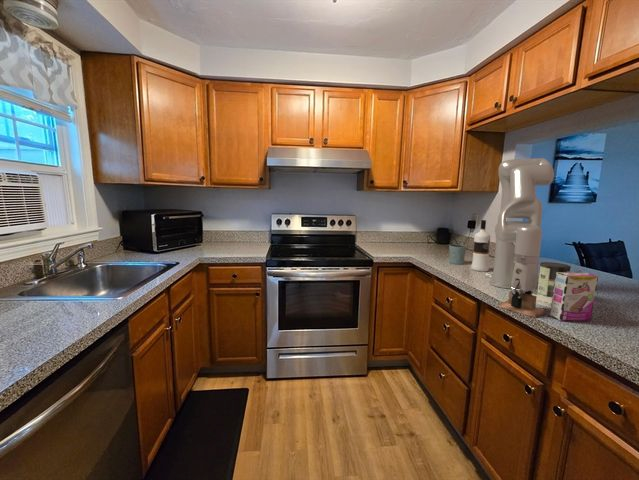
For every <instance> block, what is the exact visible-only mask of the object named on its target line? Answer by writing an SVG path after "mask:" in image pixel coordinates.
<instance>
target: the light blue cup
mask: <svg viewBox="0 0 639 480" xmlns="http://www.w3.org/2000/svg"><path fill="white" fill-rule="evenodd" d="M448 246H449V247H448V248H449V250H448V251H449V259H448V260H449V261H448V262H449V264H450V265H456V266H457V265H458V266H463V265H464V264H465V255H466V252H467V251H466V250H467V245H464V244H456V243H453V244H449V245H448Z"/></svg>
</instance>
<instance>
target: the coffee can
mask: <svg viewBox="0 0 639 480" xmlns="http://www.w3.org/2000/svg"><path fill="white" fill-rule="evenodd" d="M571 268H572V266H571V265H569V264H564V263H561V262H560V263H559V262H552V261H551V262H547V261H544V262H542V261H541V262H539V270H538V281H537V288H536V289H537V290H536V295H540V296H544V297H548V298H552V297H553V290H554V283H555V276H556V272H571Z"/></svg>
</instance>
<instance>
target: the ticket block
mask: <svg viewBox="0 0 639 480" xmlns="http://www.w3.org/2000/svg"><path fill="white" fill-rule="evenodd" d="M532 295H534V296H537V298H536V305H539V306H542V307H546V306H547V307H546V308H550V309H551V304H552V298H548V297H544V296H540V295H537V293H536V294H535V293H533V294H532Z"/></svg>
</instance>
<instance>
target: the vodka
mask: <svg viewBox="0 0 639 480" xmlns="http://www.w3.org/2000/svg"><path fill="white" fill-rule="evenodd" d="M486 225H487V219H482V220H480V231H478V232H476V233H475V234H474V236H473V252H472V261H471V265H470V268H471V270H472V271H474V272H482V273H485V272H486V273H487V272H489V269H490V267H489V256H490V254H489V253H490V245H491V244H490V243H491V234H489V233H488V232H487V231H486Z"/></svg>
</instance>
